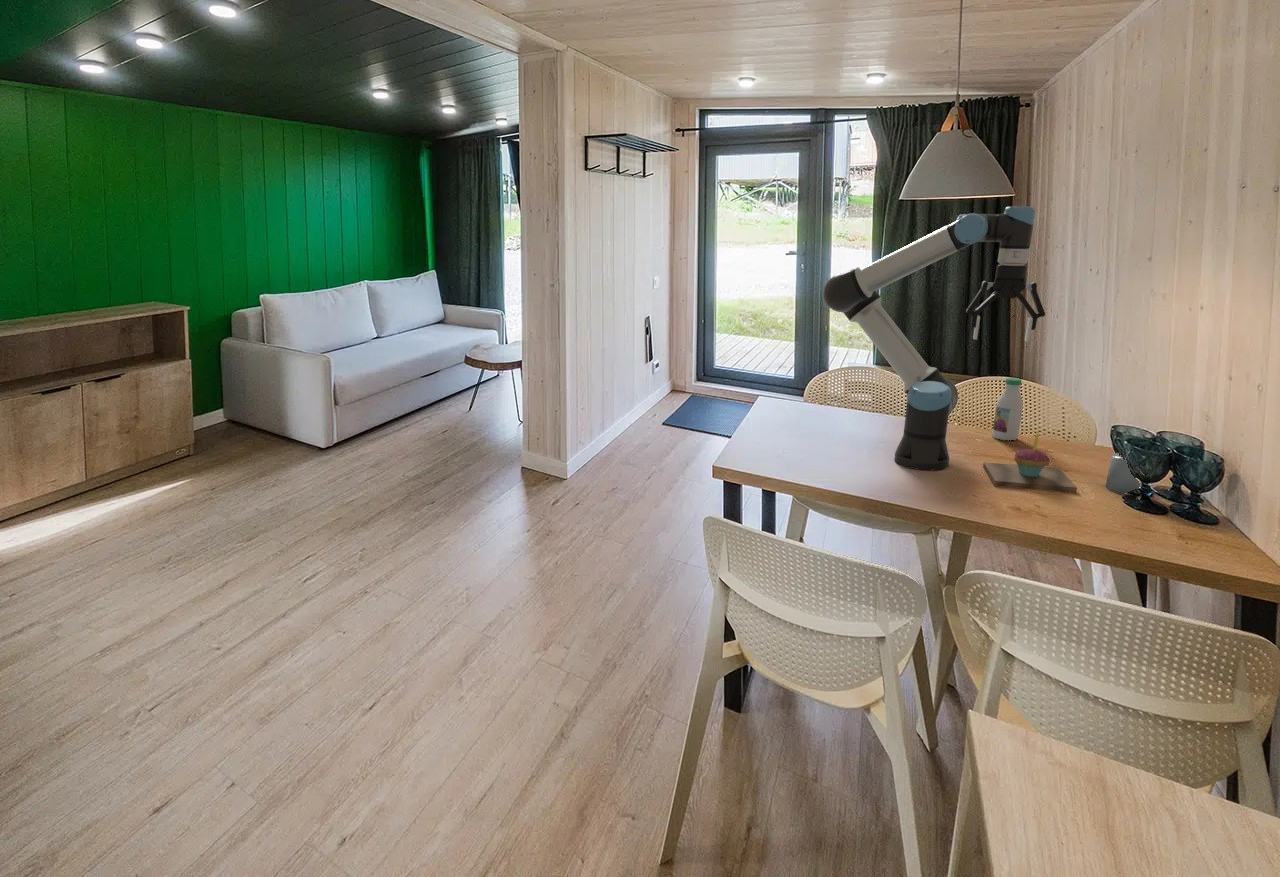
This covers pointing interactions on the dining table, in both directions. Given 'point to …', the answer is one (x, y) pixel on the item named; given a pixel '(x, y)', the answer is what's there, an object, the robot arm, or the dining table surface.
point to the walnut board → (1028, 478)
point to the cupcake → (1031, 460)
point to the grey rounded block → (1120, 476)
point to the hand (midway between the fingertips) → (1000, 340)
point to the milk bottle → (1008, 411)
